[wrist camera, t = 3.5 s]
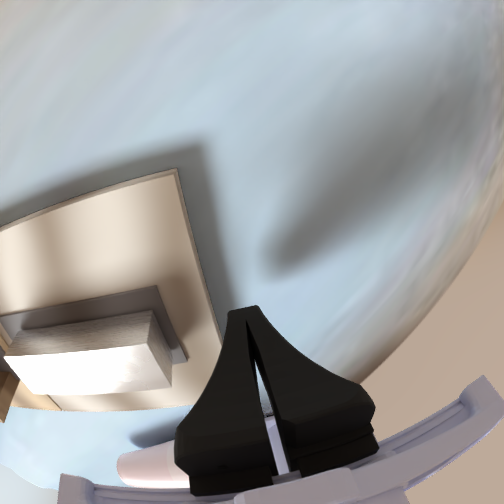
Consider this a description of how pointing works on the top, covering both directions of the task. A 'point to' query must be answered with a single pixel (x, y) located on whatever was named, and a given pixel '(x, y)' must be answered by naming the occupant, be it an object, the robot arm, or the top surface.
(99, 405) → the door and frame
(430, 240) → the top surface
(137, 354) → the brushed metal block
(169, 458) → the smoothie
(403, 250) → the top surface
